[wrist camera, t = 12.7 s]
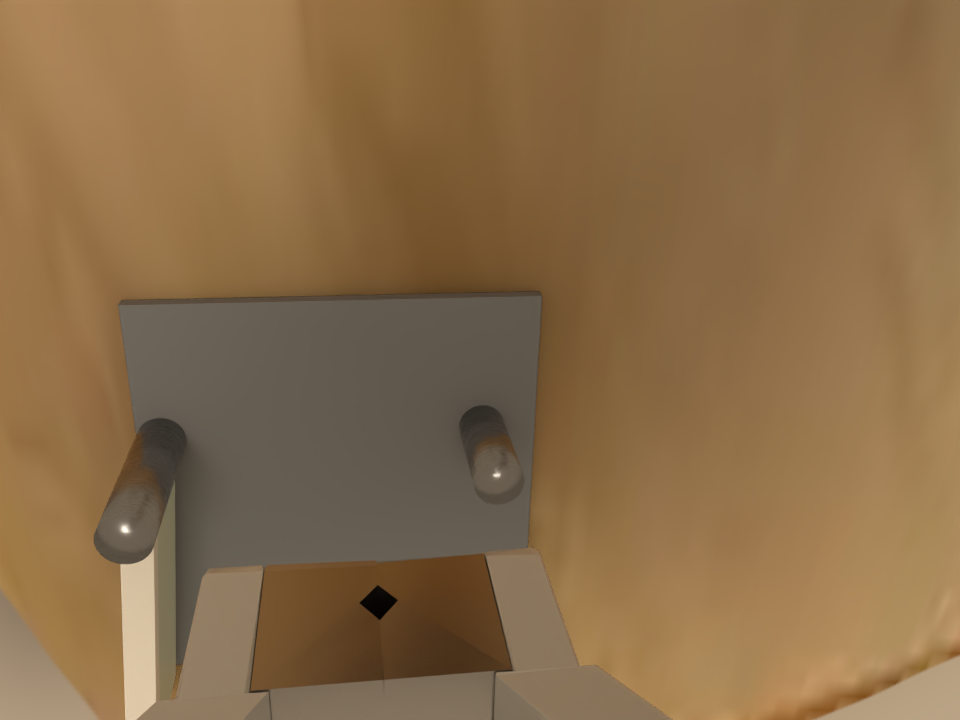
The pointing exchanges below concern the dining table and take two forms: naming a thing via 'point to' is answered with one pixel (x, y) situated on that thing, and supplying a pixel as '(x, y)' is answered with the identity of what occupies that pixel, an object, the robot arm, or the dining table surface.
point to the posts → (162, 444)
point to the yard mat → (332, 424)
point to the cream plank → (150, 621)
